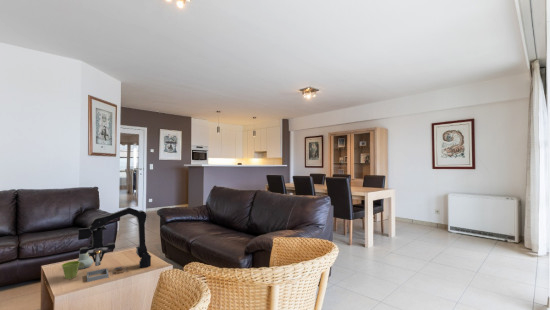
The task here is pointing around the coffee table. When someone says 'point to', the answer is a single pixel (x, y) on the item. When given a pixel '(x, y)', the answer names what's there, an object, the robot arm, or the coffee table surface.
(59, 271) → the coffee table surface
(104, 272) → the tray
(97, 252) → the lock pin
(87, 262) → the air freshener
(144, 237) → the robot arm
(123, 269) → the tensioner block
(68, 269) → the plant pot
